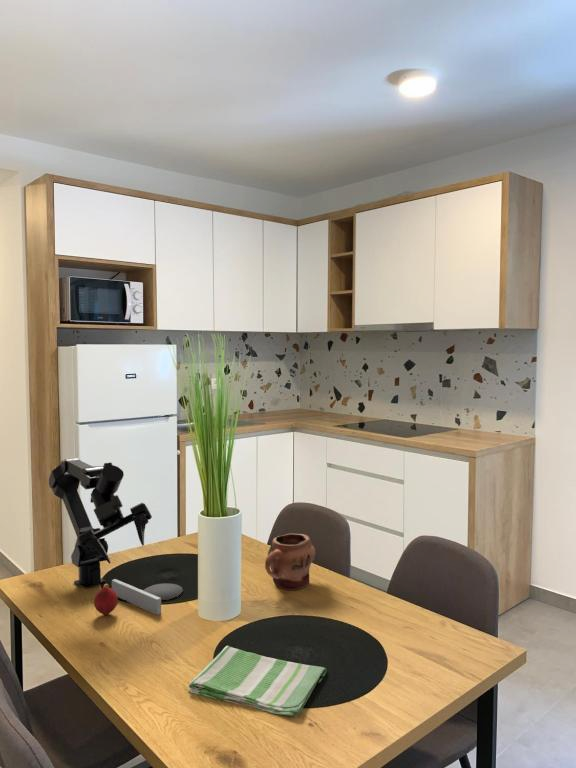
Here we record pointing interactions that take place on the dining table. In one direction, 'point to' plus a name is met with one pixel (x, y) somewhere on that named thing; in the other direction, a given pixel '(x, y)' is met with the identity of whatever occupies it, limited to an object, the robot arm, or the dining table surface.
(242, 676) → the dish towel
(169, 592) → the rubber mat
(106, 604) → the onion
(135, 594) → the low wall
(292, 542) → the brown clay mug
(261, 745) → the dining table surface
